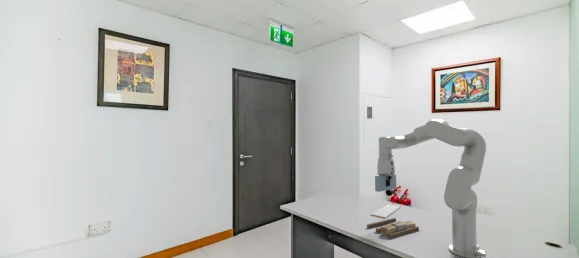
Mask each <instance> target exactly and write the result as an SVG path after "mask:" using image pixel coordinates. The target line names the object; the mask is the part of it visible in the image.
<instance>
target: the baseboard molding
mask: <svg viewBox="0 0 579 258" xmlns="http://www.w3.org/2000/svg"><path fill="white" fill-rule="evenodd" d="M400 208H401V205H400V204H399V205H397V204H395V203H393V202H392V203H390V204H389V203H387V204H384V206H382V207H381V208H379V209H377V210H376V211H374V212H372V213H371V214H370V216H371V217H375V218H376V217H377V218H382V219H388V217H390V216H391V215H392V214H394V213H395V212H397V211H398V210H399V209H400ZM389 215H390V216H389Z"/></svg>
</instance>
